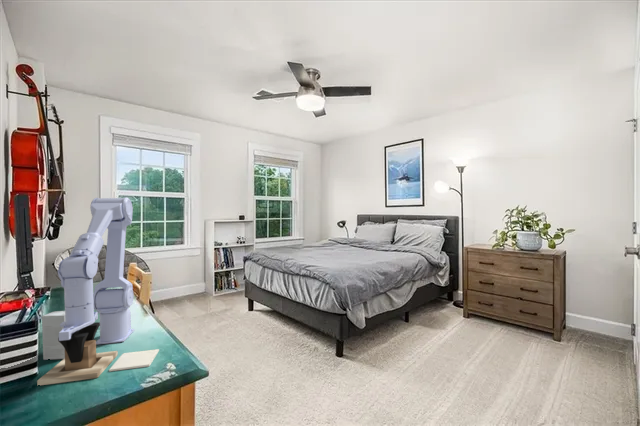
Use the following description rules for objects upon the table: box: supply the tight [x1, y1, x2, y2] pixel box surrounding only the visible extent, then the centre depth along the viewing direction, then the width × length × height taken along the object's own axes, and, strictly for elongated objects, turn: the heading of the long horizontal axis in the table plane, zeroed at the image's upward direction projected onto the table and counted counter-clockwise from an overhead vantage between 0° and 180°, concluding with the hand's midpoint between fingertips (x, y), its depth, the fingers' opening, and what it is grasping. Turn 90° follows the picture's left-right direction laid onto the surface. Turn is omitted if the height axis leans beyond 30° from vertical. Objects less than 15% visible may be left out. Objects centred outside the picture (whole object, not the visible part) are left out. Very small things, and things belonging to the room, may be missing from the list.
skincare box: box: [41, 310, 65, 361], centre depth 85 cm, size 6×4×12 cm
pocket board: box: [36, 350, 119, 386], centre depth 77 cm, size 12×12×1 cm
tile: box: [108, 348, 160, 373], centre depth 81 cm, size 9×9×1 cm
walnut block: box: [65, 339, 97, 371], centre depth 77 cm, size 4×5×6 cm
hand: (81, 357), depth 77 cm, fingers closed on walnut block, 4 cm apart
